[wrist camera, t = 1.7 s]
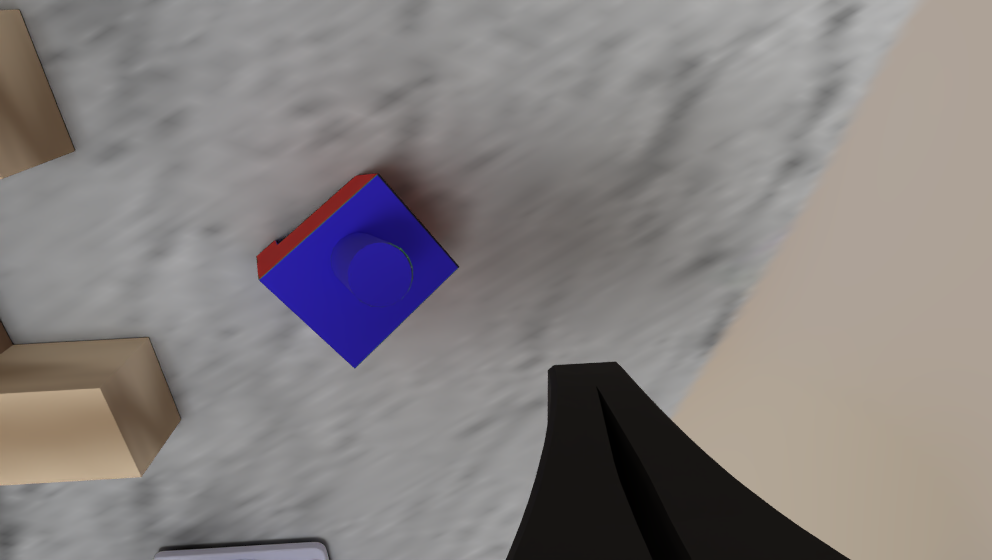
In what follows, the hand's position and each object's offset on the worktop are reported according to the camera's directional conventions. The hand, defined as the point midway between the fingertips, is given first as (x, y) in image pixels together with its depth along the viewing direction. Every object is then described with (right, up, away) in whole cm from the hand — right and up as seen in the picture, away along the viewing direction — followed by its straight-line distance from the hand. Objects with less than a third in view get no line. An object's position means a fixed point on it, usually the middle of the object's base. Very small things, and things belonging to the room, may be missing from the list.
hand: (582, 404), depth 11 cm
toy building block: (-6, +4, +8) cm, 11 cm away
